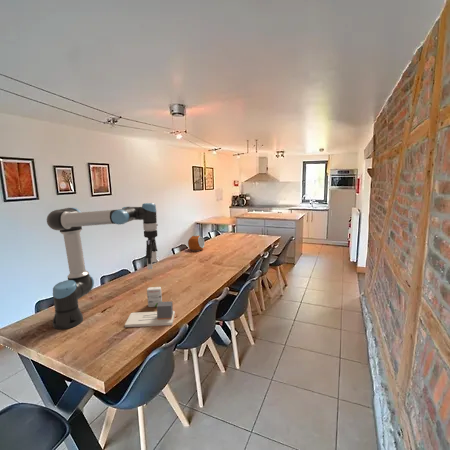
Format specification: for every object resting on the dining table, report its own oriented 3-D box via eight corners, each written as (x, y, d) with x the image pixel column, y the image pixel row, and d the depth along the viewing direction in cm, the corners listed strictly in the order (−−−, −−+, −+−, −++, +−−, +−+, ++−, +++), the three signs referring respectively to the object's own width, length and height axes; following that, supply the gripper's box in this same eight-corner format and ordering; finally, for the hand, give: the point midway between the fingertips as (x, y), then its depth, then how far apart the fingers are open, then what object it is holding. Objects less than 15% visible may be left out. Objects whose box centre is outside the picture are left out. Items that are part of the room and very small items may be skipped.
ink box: (162, 303, 182) (161, 286, 180) (161, 306, 177) (160, 289, 176) (149, 303, 182) (148, 286, 180) (147, 307, 177) (146, 289, 175)
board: (124, 327, 153) (124, 324, 153) (131, 314, 167) (131, 312, 167) (172, 325, 155) (172, 322, 155) (174, 313, 169) (174, 310, 168)
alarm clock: (199, 252, 309) (199, 237, 306) (185, 251, 315) (185, 236, 312) (206, 248, 326) (206, 234, 324) (193, 247, 333) (193, 233, 330)
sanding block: (157, 319, 158) (156, 306, 157) (159, 314, 164) (158, 301, 163) (171, 319, 158) (171, 306, 157) (172, 314, 164) (172, 301, 163)
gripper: (153, 234, 147) (155, 272, 151) (160, 226, 172) (162, 259, 175) (138, 234, 147) (141, 272, 150) (148, 226, 171) (150, 259, 175)
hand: (152, 265), depth 163 cm, fingers open, 13 cm apart
